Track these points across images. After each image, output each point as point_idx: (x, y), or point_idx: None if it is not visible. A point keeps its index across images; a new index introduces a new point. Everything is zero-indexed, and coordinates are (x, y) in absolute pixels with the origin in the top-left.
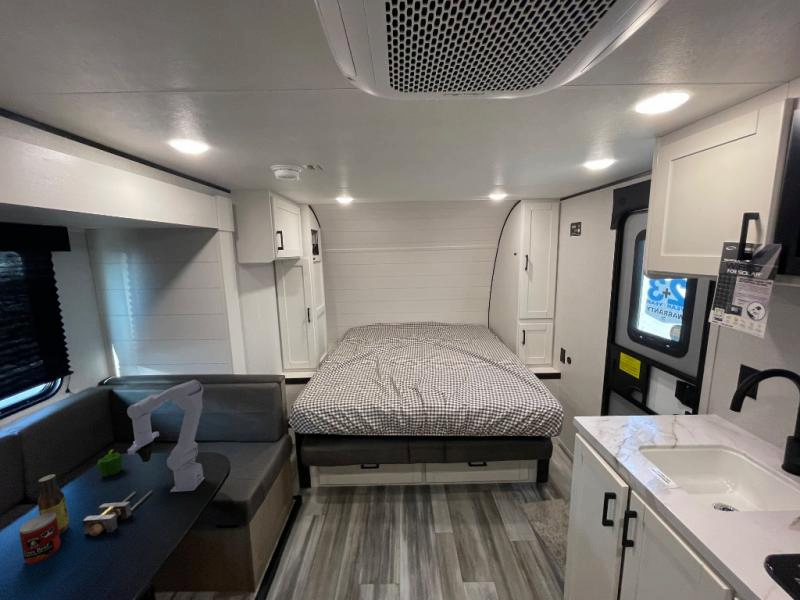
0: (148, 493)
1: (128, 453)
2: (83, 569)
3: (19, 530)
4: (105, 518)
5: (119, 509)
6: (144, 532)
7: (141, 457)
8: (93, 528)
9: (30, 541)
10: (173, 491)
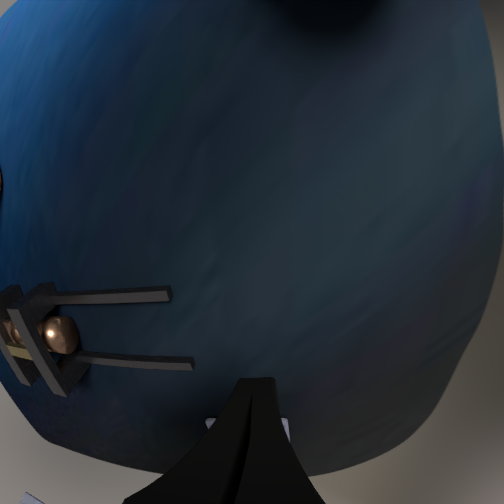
0: (171, 366)
1: (25, 501)
2: (3, 363)
3: None
4: (13, 369)
5: (57, 352)
6: (80, 419)
7: (220, 421)
8: None
9: None
10: (208, 427)
